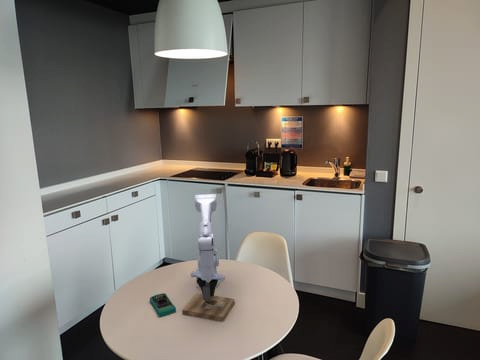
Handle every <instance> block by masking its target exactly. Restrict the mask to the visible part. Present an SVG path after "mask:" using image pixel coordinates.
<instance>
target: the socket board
mask: <svg viewBox="0 0 480 360" xmlns="http://www.w3.org/2000/svg"><path fill="white" fill-rule="evenodd" d="M206 303H207V304H206ZM208 304H209V305H213V307H212V308H207V307H205V306H206V305H208ZM234 305H235V298H231V297H224V296H219V295H214V297H213V298H212V300H211V301H206V300H203V294H202V292H200V293H199V292H196V293H195V294H194V295H193V296H192V298H191V299H189V301H188V302H187V303H186V305H184V307H183V308H182V309H181V314H182V315H186V316H192V317H198V318H202V319H208V320H214V321H219V322H224V321H225V319H226V317H227V316H228V314H229V313H230V311H231V310H232V307H233V306H234Z"/></svg>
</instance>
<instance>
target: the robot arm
mask: <svg viewBox="0 0 480 360" xmlns="http://www.w3.org/2000/svg"><path fill="white" fill-rule="evenodd" d="M194 205H195V206H194V208H195V210H196V212H198V213H200V215H201V222H200V223H199V224H198V225H199V226H198V238H197V250H198V252H197V267H196V269H195V271H194V270H193V271H191V272H190V278H195V282H196V285H195V287H197V288H200V290H201V294H203V286H204V284H205V283H206V282H209V285H210V290H211V296H213V295H214V296H215V292H216V287H218V285H219V284H220V282H221V283H224V282H225V280H226V278H225V277H226V276H225V275H224V274H221V273H218V272H217V269H218V268H217V267H219V265H220V262H219V259H220V257H219V255H220V254H219V250H218V249H217V248H216V247H215V237H214V229H213V223H212V214H213V212H215V211H216V210H217V194H216V193H212V194H211V193H210V194H209V193H206V194H195V195H194Z"/></svg>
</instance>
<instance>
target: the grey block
mask: <svg viewBox="0 0 480 360" xmlns="http://www.w3.org/2000/svg"><path fill="white" fill-rule="evenodd" d="M214 296H215V294H214V295H213V296H211V290H210V285H209V282H206V283H205V284H204V286H203V300H206V301H211V300H212V298H213V297H214Z"/></svg>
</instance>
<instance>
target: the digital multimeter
mask: <svg viewBox="0 0 480 360" xmlns="http://www.w3.org/2000/svg"><path fill="white" fill-rule="evenodd" d="M149 302H150V303H151V304H152V307H153V308H154V309H155V311H156V313H157V315H158V317H159V318H160V317H164V316H168V315H171V314H174V313H176V312H177V308H176V306H175V305H174V304H173V303H172V301H171V300H170V298H169V297H168V295H167V293H164V292H162V293H158V294H154V295H152V296H150V297H149Z"/></svg>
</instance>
